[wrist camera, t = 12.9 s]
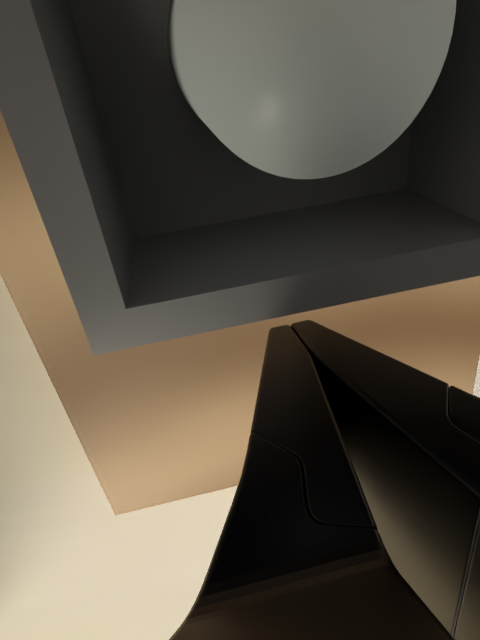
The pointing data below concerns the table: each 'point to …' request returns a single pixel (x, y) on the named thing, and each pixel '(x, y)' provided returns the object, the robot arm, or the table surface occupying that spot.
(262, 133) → the tray
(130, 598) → the table surface
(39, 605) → the table surface
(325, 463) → the robot arm
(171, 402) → the wooden l-shaped stand
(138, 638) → the table surface
